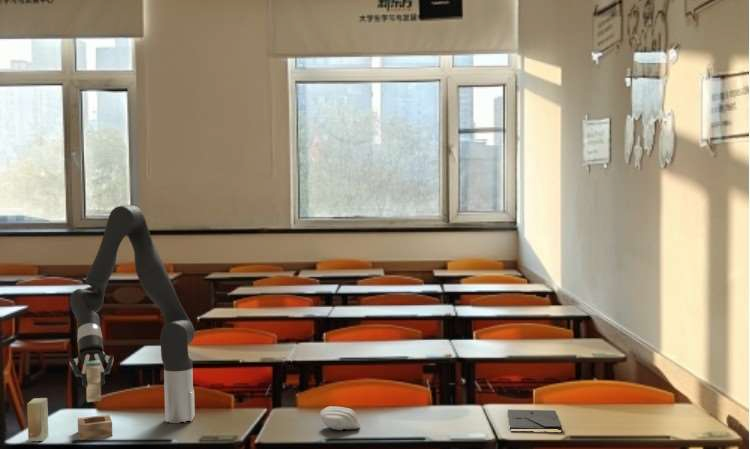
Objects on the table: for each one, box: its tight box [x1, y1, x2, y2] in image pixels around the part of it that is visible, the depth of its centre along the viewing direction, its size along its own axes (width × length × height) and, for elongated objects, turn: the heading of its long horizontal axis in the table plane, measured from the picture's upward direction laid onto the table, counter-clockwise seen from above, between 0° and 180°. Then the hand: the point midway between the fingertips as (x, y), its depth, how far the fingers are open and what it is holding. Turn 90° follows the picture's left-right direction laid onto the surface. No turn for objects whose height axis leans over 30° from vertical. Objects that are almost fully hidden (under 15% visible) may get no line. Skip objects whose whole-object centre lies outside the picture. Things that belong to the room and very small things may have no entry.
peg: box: [85, 360, 102, 403], centre depth 251 cm, size 4×4×12 cm
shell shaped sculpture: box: [319, 405, 361, 431], centre depth 253 cm, size 13×13×6 cm
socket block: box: [77, 414, 113, 441], centre depth 252 cm, size 10×10×4 cm
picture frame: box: [507, 409, 563, 431], centre depth 257 cm, size 16×3×21 cm
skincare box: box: [26, 397, 50, 442], centre depth 246 cm, size 6×4×12 cm
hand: (94, 385), depth 249 cm, fingers closed on peg, 4 cm apart
